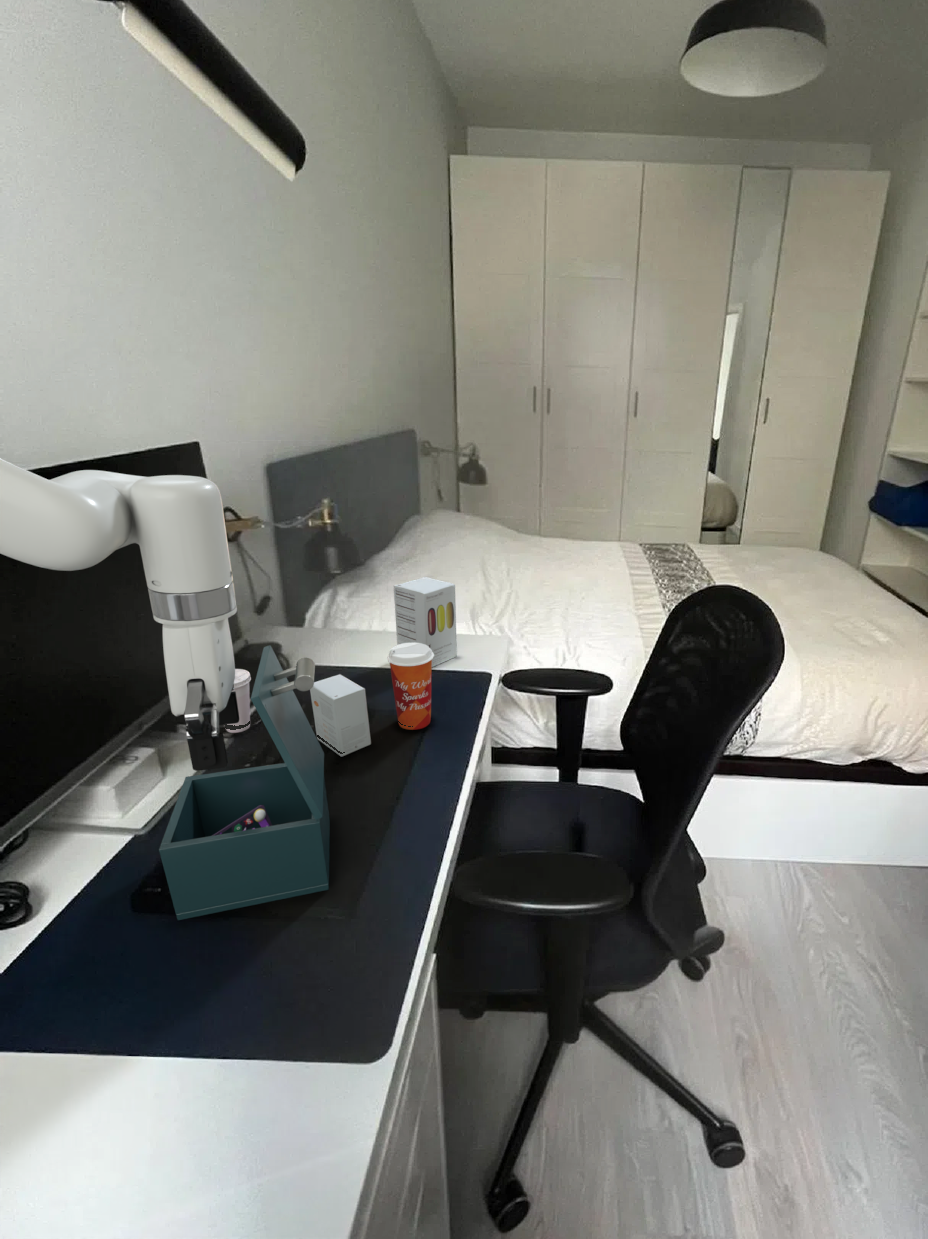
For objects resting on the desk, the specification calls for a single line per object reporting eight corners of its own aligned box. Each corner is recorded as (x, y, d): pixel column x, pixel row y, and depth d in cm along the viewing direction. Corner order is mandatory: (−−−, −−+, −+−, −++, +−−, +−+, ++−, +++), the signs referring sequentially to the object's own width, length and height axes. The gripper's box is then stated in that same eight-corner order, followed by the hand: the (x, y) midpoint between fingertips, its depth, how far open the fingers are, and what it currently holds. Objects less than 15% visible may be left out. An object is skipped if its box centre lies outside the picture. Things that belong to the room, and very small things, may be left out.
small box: (371, 745, 104) (366, 688, 100) (340, 758, 101) (333, 699, 97) (346, 727, 109) (340, 673, 105) (316, 739, 105) (308, 683, 101)
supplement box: (427, 670, 132) (423, 594, 126) (396, 659, 137) (391, 585, 130) (458, 656, 140) (456, 583, 133) (428, 646, 144) (424, 575, 138)
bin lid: (250, 698, 63) (303, 680, 64) (263, 647, 75) (308, 632, 76) (315, 820, 71) (362, 802, 72) (318, 755, 83) (358, 741, 84)
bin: (177, 921, 70) (158, 849, 66) (200, 840, 82) (185, 776, 78) (329, 890, 75) (319, 822, 71) (329, 818, 87) (321, 757, 83)
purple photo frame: (198, 848, 70) (267, 804, 77) (172, 846, 72) (241, 803, 80) (221, 899, 71) (286, 851, 79) (196, 895, 74) (261, 849, 81)
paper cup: (396, 736, 107) (390, 661, 102) (389, 715, 114) (383, 644, 109) (441, 728, 110) (438, 655, 105) (432, 708, 117) (428, 638, 112)
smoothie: (261, 730, 107) (249, 655, 102) (219, 740, 104) (204, 663, 99) (255, 714, 112) (242, 642, 107) (214, 723, 109) (199, 649, 104)
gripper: (171, 577, 71) (195, 712, 77) (127, 632, 56) (161, 793, 62) (245, 575, 73) (262, 706, 80) (222, 627, 58) (245, 783, 65)
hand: (218, 744), depth 71 cm, fingers open, 9 cm apart
